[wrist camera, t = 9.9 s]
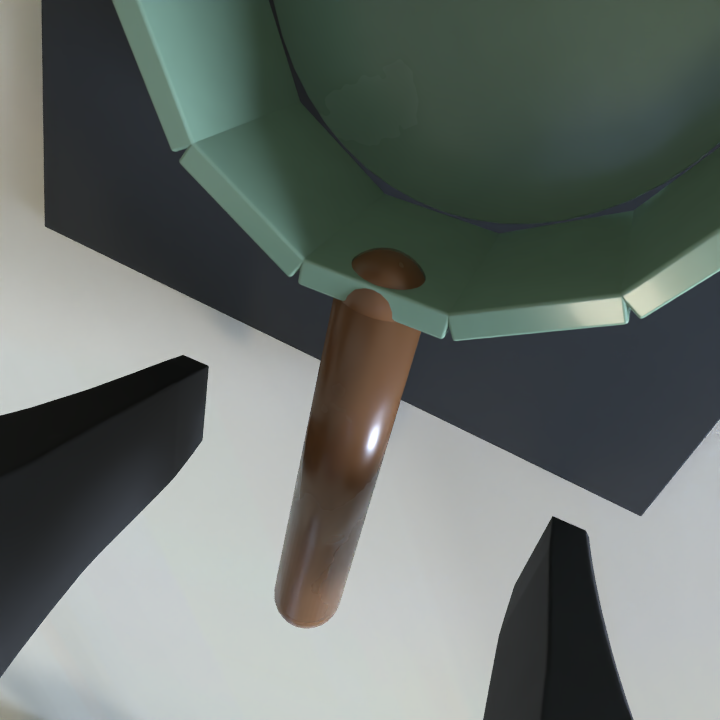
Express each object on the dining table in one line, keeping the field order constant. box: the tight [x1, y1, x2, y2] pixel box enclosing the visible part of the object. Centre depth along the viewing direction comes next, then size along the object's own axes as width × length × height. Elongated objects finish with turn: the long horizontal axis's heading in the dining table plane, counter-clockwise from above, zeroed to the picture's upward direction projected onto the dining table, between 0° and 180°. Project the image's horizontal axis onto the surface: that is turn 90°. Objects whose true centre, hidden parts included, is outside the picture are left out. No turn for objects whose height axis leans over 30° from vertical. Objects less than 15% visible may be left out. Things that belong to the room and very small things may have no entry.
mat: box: [42, 0, 720, 516], centre depth 11 cm, size 15×14×1 cm
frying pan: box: [112, 0, 720, 628], centre depth 10 cm, size 17×8×4 cm, turn 169°
